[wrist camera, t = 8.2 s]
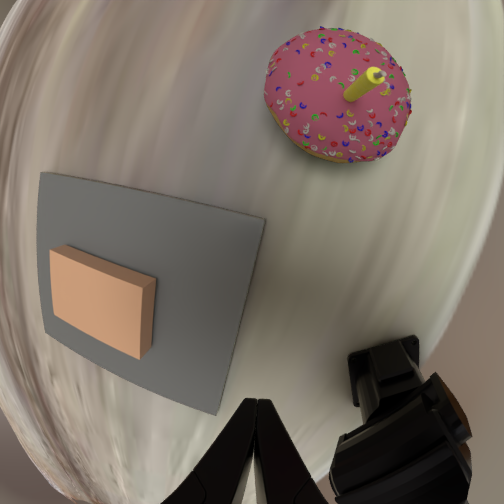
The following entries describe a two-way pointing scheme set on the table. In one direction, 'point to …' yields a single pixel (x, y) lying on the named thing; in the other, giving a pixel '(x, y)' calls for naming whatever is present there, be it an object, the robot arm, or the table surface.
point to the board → (167, 279)
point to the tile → (103, 299)
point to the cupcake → (338, 95)
